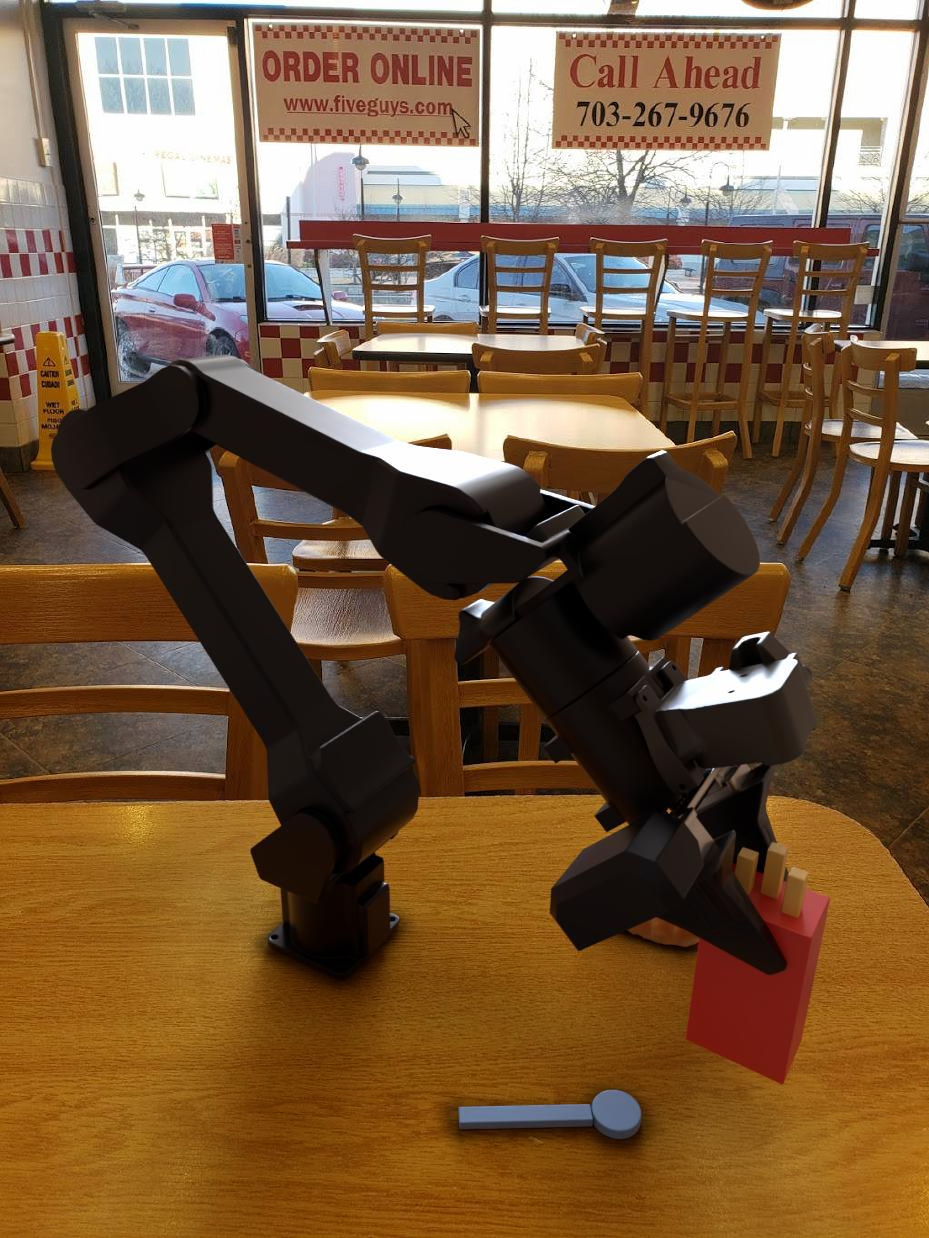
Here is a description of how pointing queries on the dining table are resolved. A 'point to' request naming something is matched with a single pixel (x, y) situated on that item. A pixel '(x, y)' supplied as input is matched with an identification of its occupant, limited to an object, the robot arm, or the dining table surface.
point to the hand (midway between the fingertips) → (788, 947)
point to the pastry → (664, 933)
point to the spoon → (561, 1115)
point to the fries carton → (761, 973)
